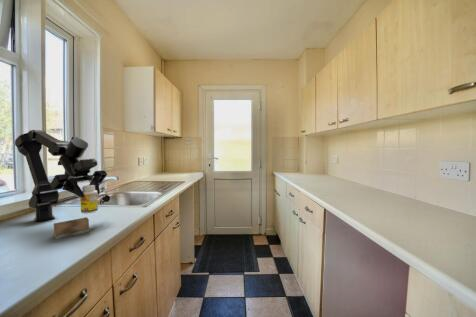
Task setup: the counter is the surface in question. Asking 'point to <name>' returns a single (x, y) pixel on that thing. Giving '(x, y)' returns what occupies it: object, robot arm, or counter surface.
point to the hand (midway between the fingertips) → (91, 195)
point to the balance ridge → (71, 227)
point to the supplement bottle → (89, 200)
